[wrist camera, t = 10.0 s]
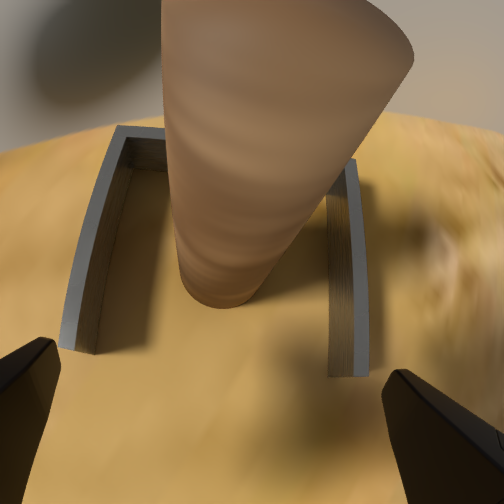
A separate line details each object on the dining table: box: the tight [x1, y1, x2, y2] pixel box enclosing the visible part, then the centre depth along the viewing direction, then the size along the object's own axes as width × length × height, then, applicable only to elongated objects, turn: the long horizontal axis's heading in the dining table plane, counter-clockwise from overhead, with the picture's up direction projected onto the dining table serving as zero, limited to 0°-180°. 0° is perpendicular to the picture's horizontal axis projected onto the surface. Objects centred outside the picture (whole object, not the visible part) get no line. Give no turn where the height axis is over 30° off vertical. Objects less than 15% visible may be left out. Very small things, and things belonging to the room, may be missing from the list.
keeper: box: [58, 125, 369, 377], centre depth 15 cm, size 12×14×6 cm
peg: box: [161, 0, 414, 309], centre depth 11 cm, size 4×4×14 cm
